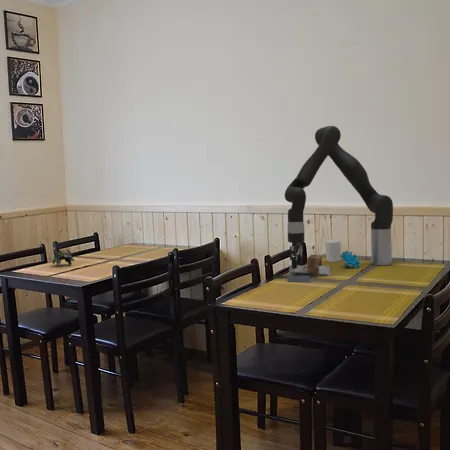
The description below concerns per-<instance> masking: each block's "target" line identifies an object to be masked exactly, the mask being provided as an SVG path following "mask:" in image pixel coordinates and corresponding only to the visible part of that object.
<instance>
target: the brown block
mask: <svg viewBox="0 0 450 450" xmlns="http://www.w3.org/2000/svg"><path fill="white" fill-rule="evenodd" d="M306 265H307V273H314V278H319V277H320V276H319V266H323V255H322V254H310V255H309V256H308V257H306Z"/></svg>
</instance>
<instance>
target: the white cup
mask: <svg viewBox="0 0 450 450" xmlns="http://www.w3.org/2000/svg"><path fill="white" fill-rule="evenodd" d="M324 245H325V246H324V247H325V257H326V262H330V263H336V262H340V261H341V256H342V253H341V252H342V251H341V250H342V241H341V240H339V239H331V240H330V239H329V240H325V241H324Z"/></svg>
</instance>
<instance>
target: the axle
mask: <svg viewBox="0 0 450 450" xmlns="http://www.w3.org/2000/svg"><path fill="white" fill-rule="evenodd" d="M331 268H332V267H331V265H322V266H319V277H320V276H322V277H325V276H328V277H329V276H331V272H332V271H331ZM291 272H307V264H303V265H302V264H301V265H297V268H296V269H292V264H290V265H289V269H288V273H289V275H291Z"/></svg>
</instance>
